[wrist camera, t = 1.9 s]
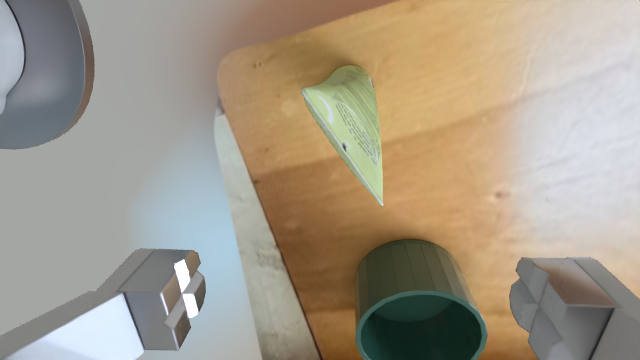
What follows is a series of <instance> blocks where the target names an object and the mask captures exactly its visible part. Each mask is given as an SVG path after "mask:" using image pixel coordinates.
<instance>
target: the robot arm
mask: <svg viewBox="0 0 640 360" xmlns="http://www.w3.org/2000/svg"><path fill="white" fill-rule="evenodd" d="M23 65H24V47H23V41H22V37H21V33H20V30H19V27H18V25H17V22H16V20H15V18H14V16H13V14H12V12H11V10H10V8H9V7H8V5H7V3H6V2H5V0H0V115H1V114H2V113H3V111H4V108H5V104H6V96H7V94H8V92H9V91H10V90H11V89H12V88H13V87H14V85H15V84H16V83H17V82H18V80H19V78H20V76H21V73H22V70H23ZM199 265H200V259H199V255H198V253H197V252H195V251H193V250H172V249H142V248H141V249H138V250H135V251H134V252H133V253H132V254H131V255H130V256H129V257H128V258H127V259H126V260H125V261H124V262H123V263H122V264H121V265H120V266H119V267H118V269H117V270H116V271H115V272H114V273H113V274H112V275H111V276H110V277H109V278H108V279H107V280H106V281H105V282H104V283H103V284H102V285H101V286H100V287H99V288H98V289H97V290H96V291H95V292H94V291H89V292H87V293H85V294H83V295H81V296H79V297H77V298H75V299H73V300H71V301H69V302H67V303H65V304H63V305H61V306H59V307H57V308H55V309H53V310H51V311H49V312H47V313H45V314H43V315H41V316H39V317H37V318H35V319H33V320H31V321H29V322H27V323H25V324H23V325H21V326H19V327H17V328H15V329H13V330H11V331H9V332H7V333H5V334H3V335H1V336H0V360H136V359H137V358H138V357H139V356H140V355H142V354H143V353H144V352H145V351H144V350H177V351H178V350H179V349H180V347H181V345H182V343H183V341H184V339H185V338H186V336H187V334H188V332H189V330H190V328H191V326H190V322H189V319H191V318H192V317H194V316H195V315H196V314H198V313H199V311H200V309H201V307H202V305H203V302H204V297H205V292H206V291H205V290H206V287H205V280H204V276H203V275H202V274H201V273H200V272H199V271H197V269H198V267H199ZM516 272H517V274H518V275H519V277H520V279H518V280H517V281H516V282H515V283H514V284H512V286H511V291H510V295H509V298H510V308H511V311H512V314H513V316H514V318H515V320H516V322H517V324H518V325H519V326H520V327H522V328H523V329H525V330H526V331H527V332H529V333H530V335H529V338H528V343H529V344H530V346H531V348H532V350H533V351H534V353H535V355H536V356H537V358H538V360H640V299H639V298H638V297H636V296H635V295H634V294H633V293H632V292H631V291H630V290H629V289H628V288H627V287H626V286H624V285H623V284H622V283H621V282H620V281H619V280H618V279H617V278H616V277H615V276H614V275H613V274H611V273H610V272H609V271H608V270H607V269H606V268H605V267H604V266H603V265H602V264H601V263H600V262H598V261H597V260H595V259H593V258H590V257H567V258H527V257H522V258H521V259H520V261H519V262H518V264H517V268H516Z"/></svg>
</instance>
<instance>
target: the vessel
mask: <svg viewBox="0 0 640 360" xmlns="http://www.w3.org/2000/svg"><path fill="white" fill-rule="evenodd" d="M354 295H355V341H356V345H357V348H358V350H359V353H360V354H361V356H362V357H363V358H364V360H477V359H478V357H479V356H480V354H481V353H482V351H483V350H484V348H485V344H486V340H487V336H488V335H487V328H486V323H485V321H484V318H483V316H482V314H481V312H480V310H479V308H478V305H477V303H476V301H475V299H474V297H473V295H472V293H471V290H470V288H469V286H468V284H467V282H466V280H465V277H464V275H463V273H462V271H461V269H460V268H459V265H458V263H457V262H456V260H455V259H454V258H453V256H452V255H451V254H450V253H448V252H447V251H446V250H445V249H443V248H441V247H440V246H438V245H435V244H433V243H430V242H427V241H422V240H412V239H409V240H398V241H393V242H389V243H387V244H384V245H382V246H380V247H378V248H376V249H374V250H373V251H371V252H370V253H369V254H368V255H367V256H366V257H365V258H364V259H363V260H362V261H361V263H360V264H359V266H358V268H357V271H356V274H355V280H354Z"/></svg>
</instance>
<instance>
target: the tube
mask: <svg viewBox="0 0 640 360" xmlns="http://www.w3.org/2000/svg"><path fill="white" fill-rule="evenodd" d="M301 93H302V95H303V96H304V99H305V102H306V104H307V106H308V109H309V111H310V112H311V114H312V116H313V117H314V119H315V120H316V122H317V124H318V125H319V126H320V128H321V129H322V131H323V132H324V134H325V135H326V136H327V138H328V139H329V141H330V142H331V144H332V145H333V146H334V148H335V149H336V151H337V152H338V153H339V155H340V156H341V158H342V159H343V160H344V162H345V163H346V165H347V166H348V167H349V169H350V170H351V171H352V173H353V174H354V175H355V176H356V177H357V179H358V180H359V181H360V182H361V183H362V184H363V185H364V187H365V188H366V189H367V190H368V191H369V192H370V193H371V194H372V195H373V196H374V197H375V198H376V200H377V201H378V202H379V203H380V205H381V206H383V200H382V192H383V180H382V156H381V141H380V129H379V119H378V111H377V103H376V96H375V91H374V86H373V82H372V80H371V78H370V76H369V74H368V73H367V72H366V71H365V70H364V69H362V68H360V67H358V66H353V65H347V66H343V67H341V68H339V69H337V70H336V71H334V72H333V73H332V74H331V76H330V77H329V78H328V79H327V80H326V81H324V82H322V83H320V84H317V85H315V86H311V87H305V88H303V89H302V90H301Z"/></svg>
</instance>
